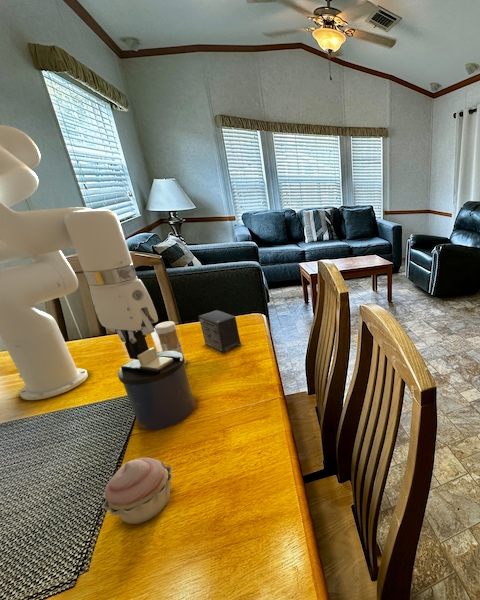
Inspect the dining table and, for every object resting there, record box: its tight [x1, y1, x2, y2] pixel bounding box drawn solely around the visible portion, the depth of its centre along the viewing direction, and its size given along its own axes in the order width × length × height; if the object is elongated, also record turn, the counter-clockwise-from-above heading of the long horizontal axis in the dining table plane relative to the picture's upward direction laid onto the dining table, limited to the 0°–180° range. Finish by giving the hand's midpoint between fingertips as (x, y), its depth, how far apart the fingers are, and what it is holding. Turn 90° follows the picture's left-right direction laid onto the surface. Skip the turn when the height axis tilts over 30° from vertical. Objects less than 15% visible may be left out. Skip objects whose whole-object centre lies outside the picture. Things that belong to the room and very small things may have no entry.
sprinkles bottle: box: [154, 320, 187, 367], centre depth 92 cm, size 5×5×14 cm
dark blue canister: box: [117, 350, 196, 431], centre depth 73 cm, size 12×12×14 cm
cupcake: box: [101, 456, 173, 525], centre depth 53 cm, size 9×9×10 cm
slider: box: [137, 346, 173, 369], centre depth 70 cm, size 4×4×3 cm
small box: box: [197, 309, 242, 354], centre depth 103 cm, size 11×6×10 cm, turn 58°
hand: (140, 355), depth 71 cm, fingers closed
